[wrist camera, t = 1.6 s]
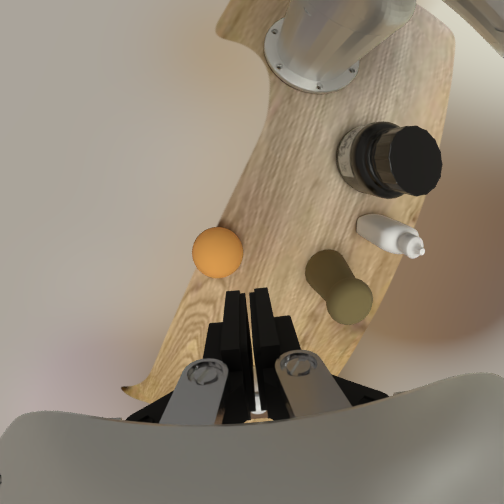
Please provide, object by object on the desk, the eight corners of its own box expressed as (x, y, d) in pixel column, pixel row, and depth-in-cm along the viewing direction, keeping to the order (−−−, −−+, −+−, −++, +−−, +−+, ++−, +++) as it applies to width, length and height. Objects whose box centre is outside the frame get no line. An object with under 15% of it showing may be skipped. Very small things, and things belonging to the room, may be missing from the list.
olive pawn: (314, 297, 38) (338, 342, 27) (298, 262, 36) (319, 300, 26) (352, 278, 37) (386, 316, 27) (337, 241, 36) (372, 271, 25)
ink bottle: (361, 112, 30) (411, 94, 19) (405, 157, 32) (461, 159, 21) (319, 164, 32) (358, 165, 21) (367, 208, 34) (416, 228, 23)
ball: (193, 224, 34) (184, 236, 28) (240, 220, 34) (240, 231, 29) (199, 269, 36) (192, 288, 30) (244, 265, 36) (245, 284, 30)
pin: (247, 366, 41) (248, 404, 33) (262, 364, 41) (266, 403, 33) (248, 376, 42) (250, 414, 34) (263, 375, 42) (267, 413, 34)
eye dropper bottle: (379, 248, 36) (426, 281, 25) (350, 228, 35) (394, 257, 24) (394, 222, 35) (446, 246, 24) (366, 201, 34) (416, 219, 23)
